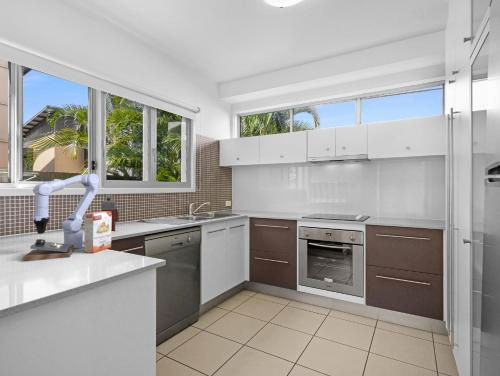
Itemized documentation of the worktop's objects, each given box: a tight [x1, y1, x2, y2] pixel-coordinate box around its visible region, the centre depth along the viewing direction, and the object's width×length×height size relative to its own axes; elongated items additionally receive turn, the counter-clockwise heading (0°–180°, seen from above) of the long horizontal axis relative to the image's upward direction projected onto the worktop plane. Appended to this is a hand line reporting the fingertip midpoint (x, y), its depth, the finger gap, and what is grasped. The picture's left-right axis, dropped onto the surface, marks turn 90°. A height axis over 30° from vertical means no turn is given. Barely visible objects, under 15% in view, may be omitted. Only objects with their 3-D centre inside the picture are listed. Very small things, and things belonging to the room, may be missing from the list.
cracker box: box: [83, 210, 112, 254], centre depth 151 cm, size 14×6×21 cm, turn 168°
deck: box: [30, 238, 71, 252], centre depth 139 cm, size 15×13×3 cm
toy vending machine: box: [101, 194, 119, 232], centre depth 212 cm, size 9×11×28 cm
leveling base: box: [23, 245, 75, 262], centre depth 139 cm, size 18×16×3 cm
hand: (41, 233), depth 143 cm, fingers open, 3 cm apart
